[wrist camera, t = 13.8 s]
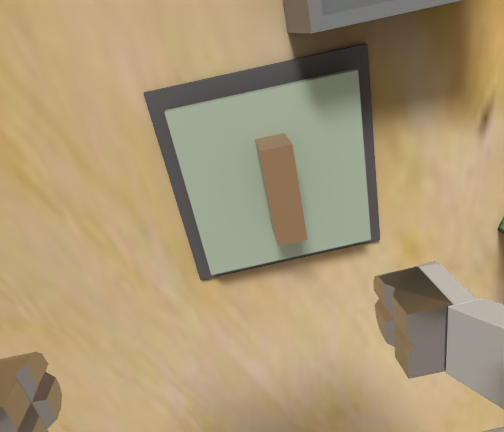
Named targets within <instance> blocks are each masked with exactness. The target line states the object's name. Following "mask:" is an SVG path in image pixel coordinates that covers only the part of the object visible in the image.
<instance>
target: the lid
mask: <svg viewBox="0 0 504 432" xmlns="http://www.w3.org/2000/svg"><path fill="white" fill-rule="evenodd" d="M164 113H165V116H166V120H167V123H168V127H169V130H170V134H171V137H172V140H173V144H174V147H175V151H176V154H177V158H178V161H179V165H180V168H181V172H182V175H183V179H184V182H185V186H186V189H187V192H188V196H189V199H190V203H191V206H192V210H193V213H194V217H195V220H196V224H197V227H198V231H199V234H200V238H201V241H202V244H203V248H204V251H205V255H206V258H207V262H208V265H209V269H210V272H211V275H215V274H219V273H224V272H228V271H233V270H237V269H242V268H246V267H251V266H255V265H260V264H264V263H269V262H273V261H278V260H282V259H287V258H291V257H296V256H300V255H305V254H309V253H314V252H318V251H323V250H328V249H332V248H337V247H341V246H346V245H350V244H355V243H359V242H364V241H368V240H371V232H370V219H369V206H368V193H367V180H366V167H365V154H364V141H363V128H362V114H361V101H360V88H359V75H358V70H356V69H351V70H347V71H342V72H337V73H333V74H328V75H324V76H319V77H315V78H310V79H306V80H301V81H296V82H292V83H287V84H283V85H278V86H274V87H269V88H264V89H260V90H255V91H251V92H246V93H242V94H237V95H233V96H228V97H223V98H219V99H214V100H210V101H205V102H201V103H196V104H192V105H187V106H182V107H178V108H173V109H169V110H166V111H165V112H164Z"/></svg>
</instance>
